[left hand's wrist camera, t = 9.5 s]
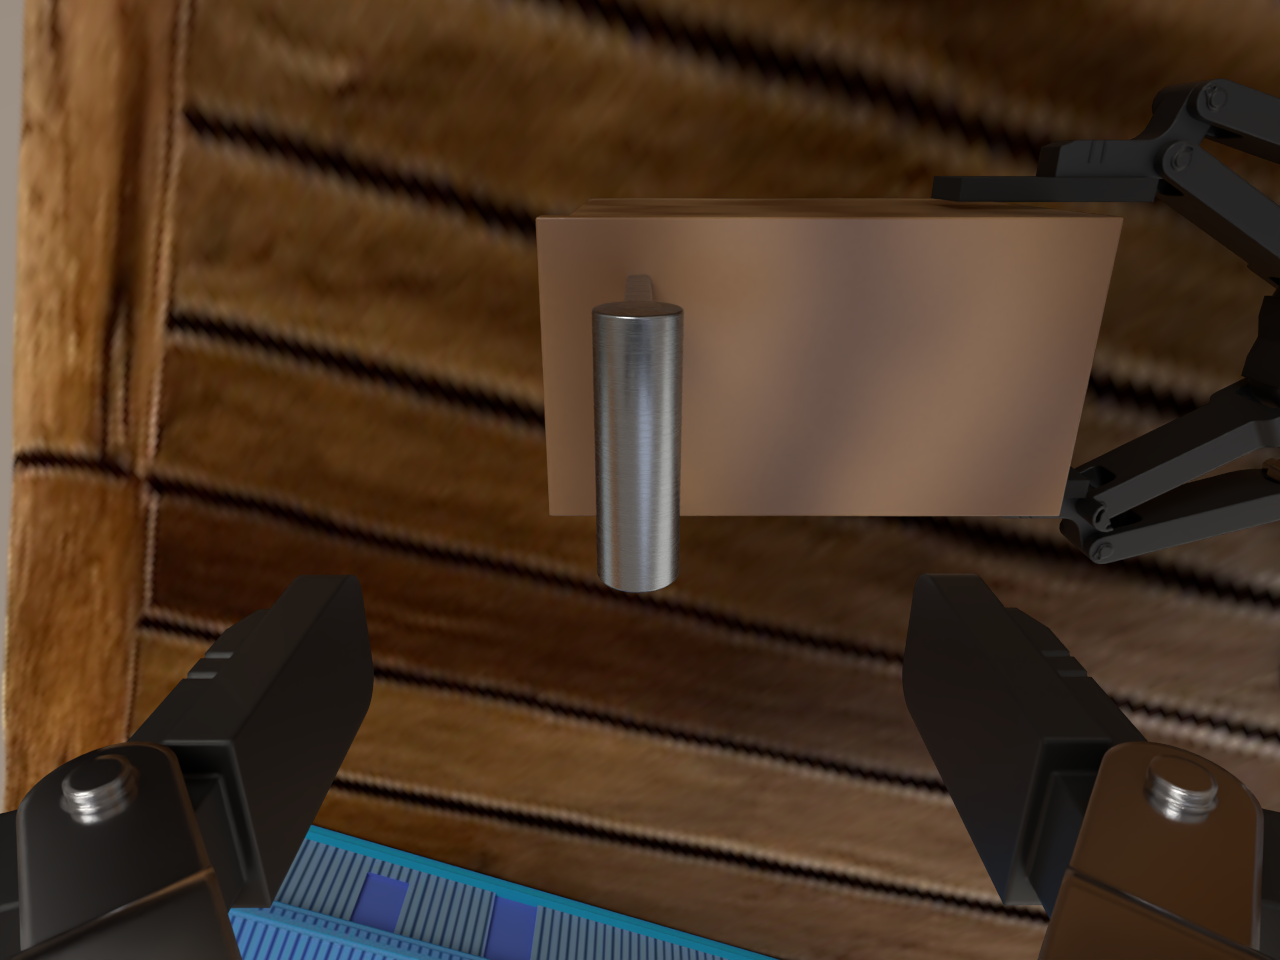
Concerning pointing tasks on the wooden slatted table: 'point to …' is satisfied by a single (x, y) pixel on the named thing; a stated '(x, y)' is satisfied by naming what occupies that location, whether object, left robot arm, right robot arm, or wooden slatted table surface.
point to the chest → (805, 207)
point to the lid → (811, 368)
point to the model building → (439, 915)
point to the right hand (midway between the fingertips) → (925, 342)
